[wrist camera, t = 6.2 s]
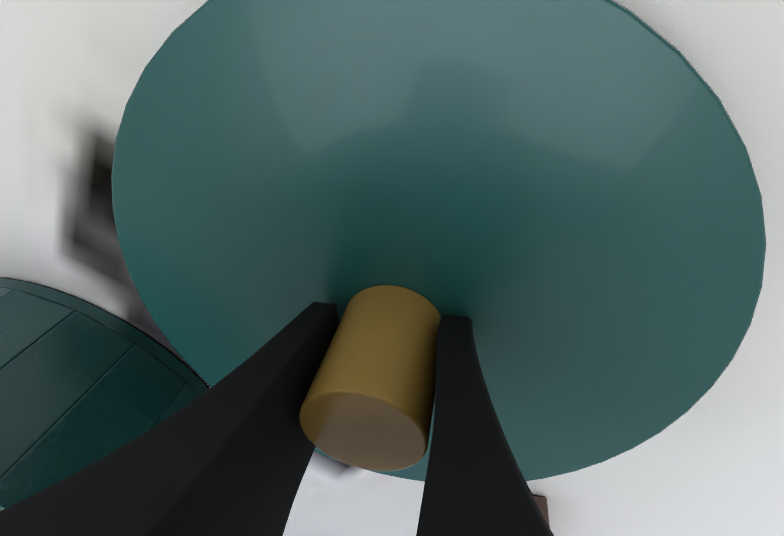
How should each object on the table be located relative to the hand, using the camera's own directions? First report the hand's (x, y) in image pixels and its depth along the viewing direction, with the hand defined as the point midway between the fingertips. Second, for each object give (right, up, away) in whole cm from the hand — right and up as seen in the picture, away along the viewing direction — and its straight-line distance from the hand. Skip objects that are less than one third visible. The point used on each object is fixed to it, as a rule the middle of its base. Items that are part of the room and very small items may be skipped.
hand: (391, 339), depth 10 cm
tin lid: (0, +1, +1) cm, 1 cm away
